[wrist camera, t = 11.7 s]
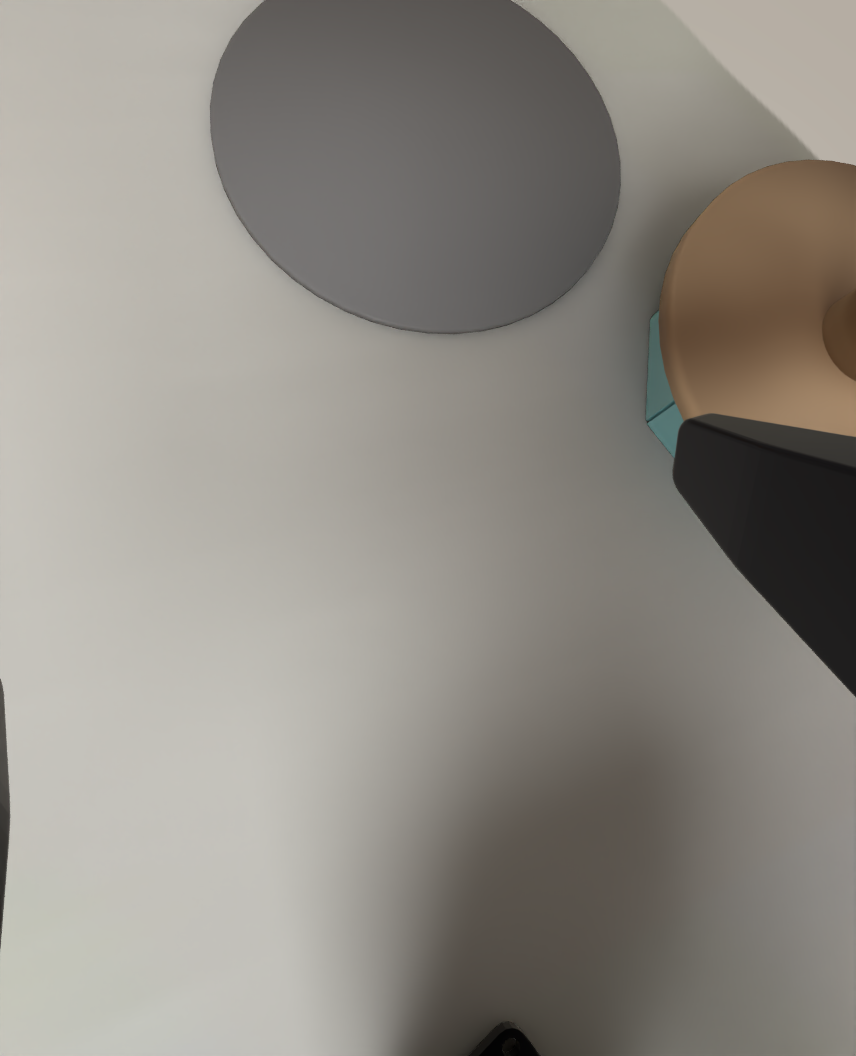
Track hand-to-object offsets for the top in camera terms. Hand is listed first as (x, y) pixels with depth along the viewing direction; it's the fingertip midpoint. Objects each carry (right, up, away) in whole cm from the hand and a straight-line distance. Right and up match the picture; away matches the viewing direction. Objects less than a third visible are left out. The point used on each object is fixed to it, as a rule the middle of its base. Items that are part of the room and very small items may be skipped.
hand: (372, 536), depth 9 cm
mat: (+1, +14, +17) cm, 22 cm away
